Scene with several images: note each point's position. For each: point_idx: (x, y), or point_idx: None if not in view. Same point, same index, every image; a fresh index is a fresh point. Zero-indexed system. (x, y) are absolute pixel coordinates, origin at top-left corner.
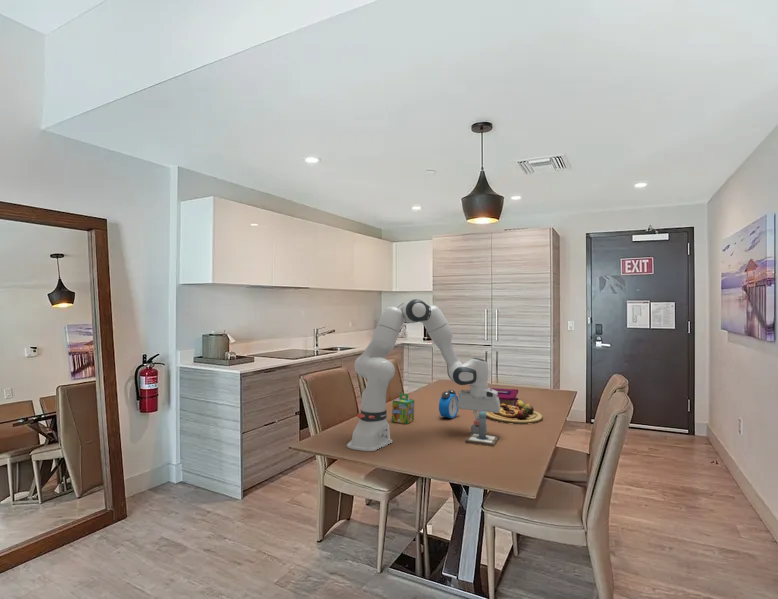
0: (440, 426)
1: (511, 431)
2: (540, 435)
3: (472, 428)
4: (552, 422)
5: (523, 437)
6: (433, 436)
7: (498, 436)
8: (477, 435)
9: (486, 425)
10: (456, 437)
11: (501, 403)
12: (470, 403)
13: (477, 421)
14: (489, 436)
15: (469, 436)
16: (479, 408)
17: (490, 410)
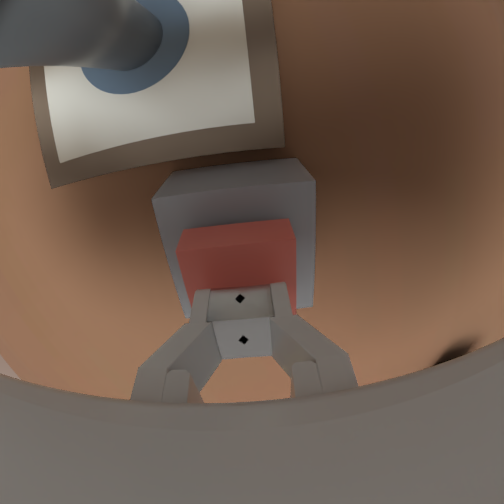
0: (491, 251)
1: (98, 348)
2: (4, 332)
3: (290, 174)
4: None
5: (8, 281)
6: (495, 31)
7: (52, 183)
8: (199, 82)
9: (182, 304)
10: (380, 28)
11: None
12: (471, 497)
13: (248, 260)
14: (93, 123)
15: (268, 27)
16: (191, 454)
17: (2, 395)
